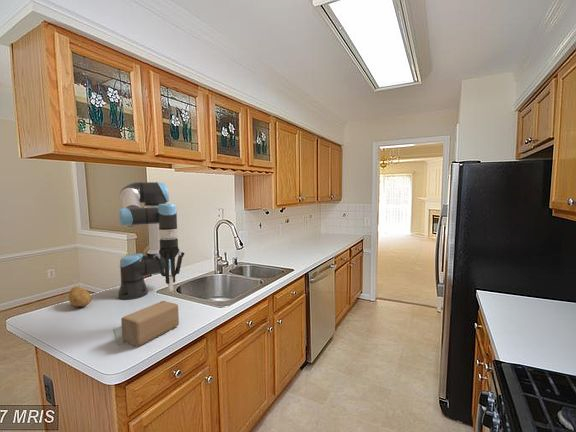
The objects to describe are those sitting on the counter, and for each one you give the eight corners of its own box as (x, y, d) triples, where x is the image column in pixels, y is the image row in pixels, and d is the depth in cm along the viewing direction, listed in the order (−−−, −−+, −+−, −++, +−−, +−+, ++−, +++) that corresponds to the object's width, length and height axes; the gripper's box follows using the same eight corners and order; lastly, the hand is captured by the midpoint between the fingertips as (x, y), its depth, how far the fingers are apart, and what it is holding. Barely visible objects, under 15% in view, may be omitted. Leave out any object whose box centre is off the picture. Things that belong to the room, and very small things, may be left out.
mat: (113, 329, 123) (113, 328, 123) (163, 317, 135) (163, 316, 135) (118, 345, 110) (118, 344, 110) (172, 330, 122) (172, 329, 122)
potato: (73, 313, 140) (72, 294, 139) (66, 304, 150) (65, 287, 150) (94, 307, 146) (92, 289, 146) (85, 300, 157) (84, 283, 156)
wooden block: (164, 321, 130) (121, 341, 112) (163, 299, 129) (119, 316, 111) (180, 325, 125) (137, 347, 107) (179, 303, 124) (136, 322, 106)
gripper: (154, 241, 119) (157, 295, 121) (186, 237, 127) (188, 289, 129) (150, 238, 125) (153, 291, 127) (181, 235, 133) (183, 285, 135)
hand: (170, 290), depth 128 cm, fingers closed
